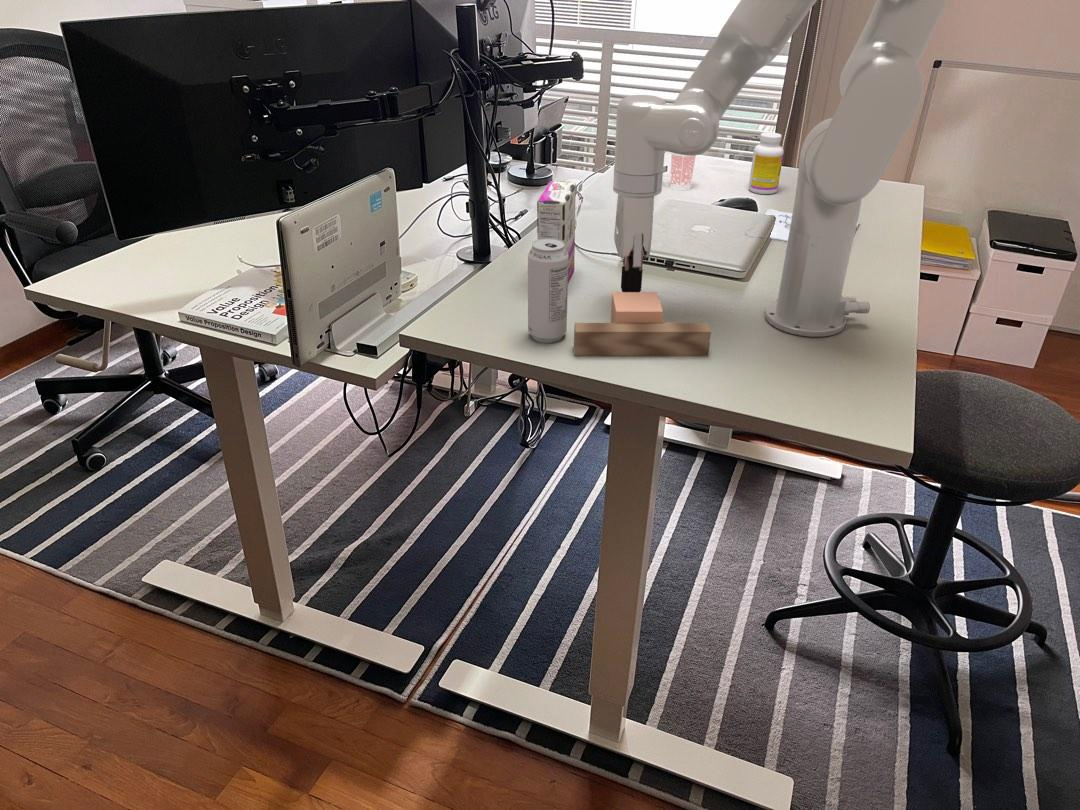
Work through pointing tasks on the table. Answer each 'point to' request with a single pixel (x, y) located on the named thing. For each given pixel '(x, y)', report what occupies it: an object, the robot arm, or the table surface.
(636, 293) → the terracotta block
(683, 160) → the beverage cup
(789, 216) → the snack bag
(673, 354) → the walnut plank
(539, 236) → the candy bar box
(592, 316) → the table surface
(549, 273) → the energy drink can
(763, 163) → the supplement bottle
